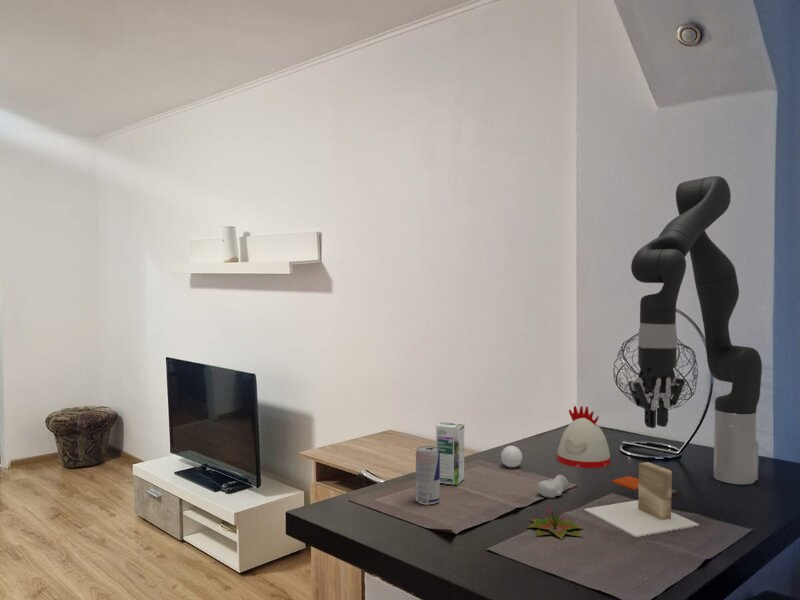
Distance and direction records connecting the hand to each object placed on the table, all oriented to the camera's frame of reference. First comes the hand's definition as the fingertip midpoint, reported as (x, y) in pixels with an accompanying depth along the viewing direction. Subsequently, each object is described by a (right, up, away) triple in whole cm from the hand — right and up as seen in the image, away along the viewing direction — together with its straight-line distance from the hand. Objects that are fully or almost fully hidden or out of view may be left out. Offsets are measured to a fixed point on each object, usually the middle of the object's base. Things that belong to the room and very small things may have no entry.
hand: (656, 426), depth 142 cm
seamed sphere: (-25, -18, +37) cm, 48 cm away
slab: (0, -19, +1) cm, 19 cm away
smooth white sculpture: (-18, -19, +14) cm, 30 cm away
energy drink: (-48, -19, +10) cm, 52 cm away
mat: (-4, -19, -1) cm, 19 cm away
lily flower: (-23, -20, -6) cm, 31 cm away
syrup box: (-42, -18, +24) cm, 51 cm away
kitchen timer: (-4, -18, +42) cm, 46 cm away
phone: (+5, -19, +19) cm, 27 cm away
